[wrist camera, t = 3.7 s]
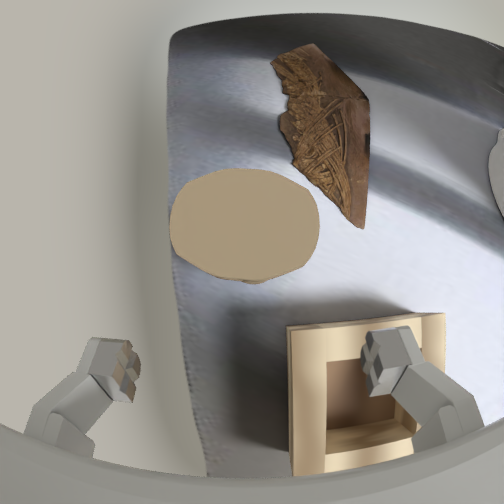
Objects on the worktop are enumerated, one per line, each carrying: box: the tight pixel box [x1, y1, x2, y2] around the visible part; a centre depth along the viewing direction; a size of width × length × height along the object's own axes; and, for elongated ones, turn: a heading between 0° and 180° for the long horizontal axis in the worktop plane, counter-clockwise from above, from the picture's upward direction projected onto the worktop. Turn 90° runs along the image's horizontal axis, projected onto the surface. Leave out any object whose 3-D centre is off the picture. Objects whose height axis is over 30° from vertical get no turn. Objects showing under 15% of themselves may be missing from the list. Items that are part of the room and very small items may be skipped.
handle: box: [169, 168, 320, 284], centre depth 20 cm, size 5×6×15 cm
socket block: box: [286, 313, 446, 476], centre depth 22 cm, size 13×13×6 cm
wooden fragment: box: [270, 44, 370, 229], centre depth 30 cm, size 26×11×1 cm, turn 4°
